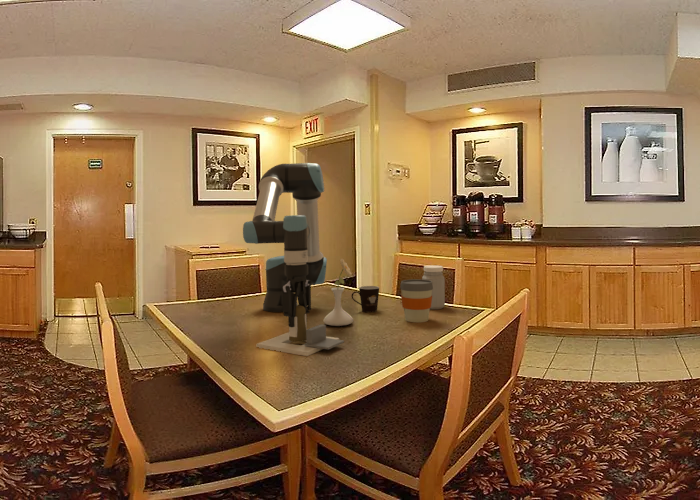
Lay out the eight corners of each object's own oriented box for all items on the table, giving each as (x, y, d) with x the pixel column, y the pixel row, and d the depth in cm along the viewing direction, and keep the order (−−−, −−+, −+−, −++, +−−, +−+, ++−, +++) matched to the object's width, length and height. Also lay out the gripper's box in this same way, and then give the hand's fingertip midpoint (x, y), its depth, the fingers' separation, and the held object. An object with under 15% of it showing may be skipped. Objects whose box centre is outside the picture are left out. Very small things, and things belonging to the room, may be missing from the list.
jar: (419, 309, 216) (419, 267, 214) (425, 304, 225) (424, 264, 223) (442, 310, 212) (442, 268, 211) (446, 306, 221) (446, 265, 220)
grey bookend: (304, 345, 157) (303, 329, 156) (320, 338, 164) (320, 323, 164) (328, 349, 152) (328, 333, 152) (344, 342, 160) (343, 326, 159)
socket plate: (256, 347, 161) (256, 343, 161) (290, 334, 176) (290, 331, 176) (307, 356, 151) (307, 352, 151) (339, 341, 166) (339, 338, 166)
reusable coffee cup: (412, 324, 188) (412, 285, 186) (394, 318, 199) (394, 281, 197) (439, 320, 193) (439, 282, 192) (420, 314, 204) (420, 278, 203)
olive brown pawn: (289, 337, 166) (288, 304, 165) (307, 336, 167) (306, 303, 166) (288, 342, 160) (287, 308, 159) (307, 341, 161) (306, 307, 160)
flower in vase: (343, 329, 182) (341, 261, 180) (317, 326, 188) (315, 259, 186) (361, 322, 193) (360, 257, 191) (336, 319, 199) (335, 256, 197)
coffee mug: (380, 308, 218) (379, 285, 217) (379, 312, 210) (378, 289, 209) (353, 308, 219) (353, 285, 218) (351, 312, 211) (351, 289, 210)
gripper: (288, 267, 152) (291, 342, 154) (321, 261, 167) (322, 330, 169) (269, 265, 156) (272, 339, 158) (302, 260, 171) (304, 327, 173)
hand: (298, 334), depth 163 cm, fingers closed on olive brown pawn, 4 cm apart
